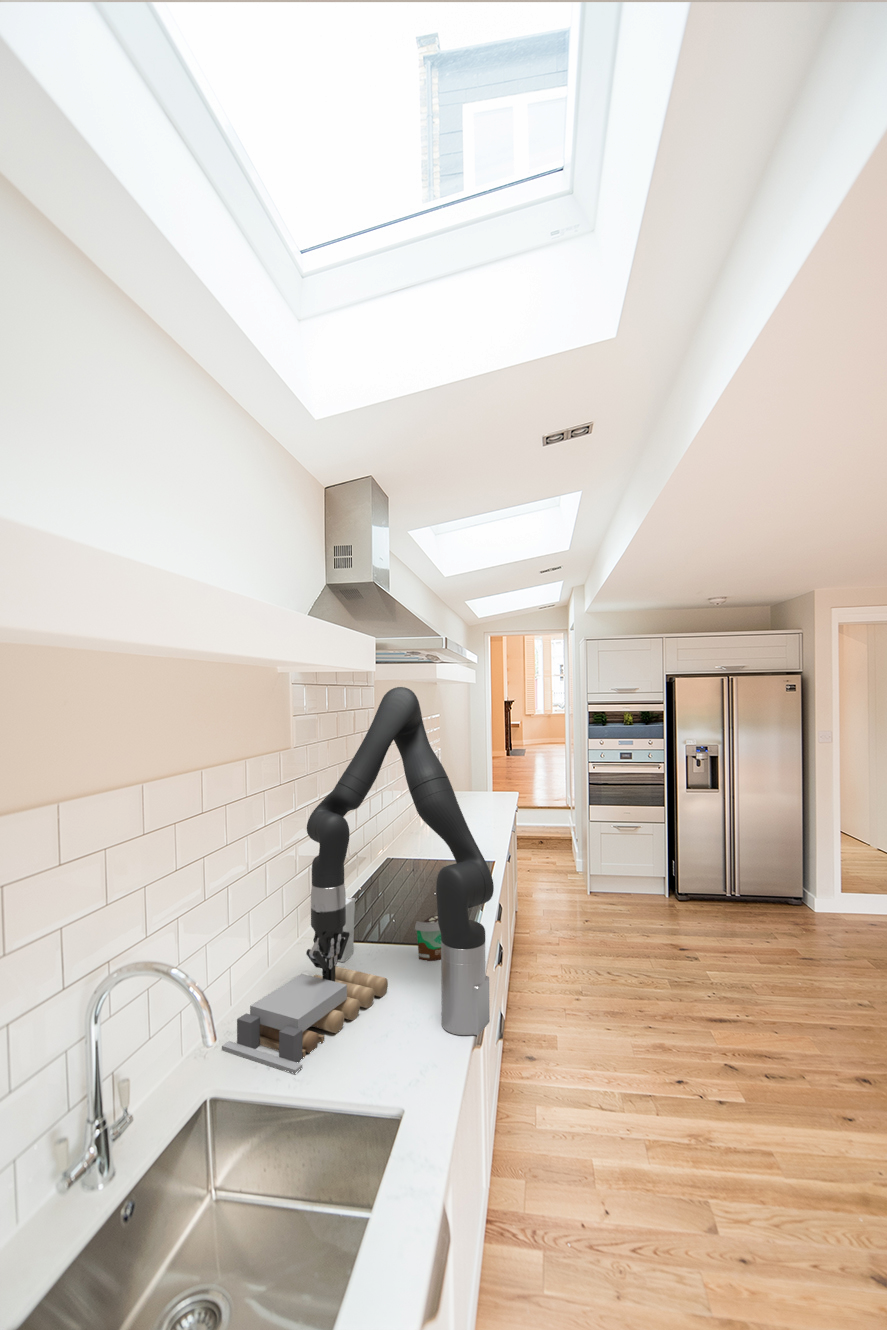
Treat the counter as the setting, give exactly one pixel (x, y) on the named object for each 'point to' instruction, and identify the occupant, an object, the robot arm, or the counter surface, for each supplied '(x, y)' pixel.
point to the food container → (429, 939)
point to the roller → (307, 1037)
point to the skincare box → (349, 928)
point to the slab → (299, 1002)
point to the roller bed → (345, 1002)
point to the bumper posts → (251, 1040)
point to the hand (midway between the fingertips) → (329, 983)
